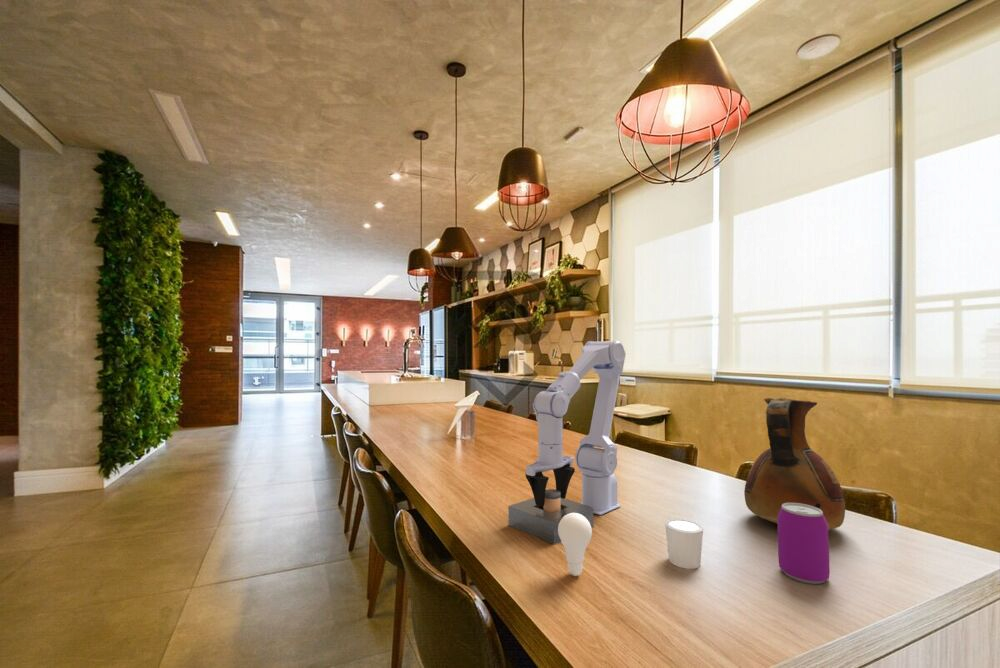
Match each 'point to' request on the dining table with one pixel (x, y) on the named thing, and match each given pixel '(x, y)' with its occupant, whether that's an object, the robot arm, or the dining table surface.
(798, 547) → the beverage can
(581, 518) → the lightbulb
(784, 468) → the ceramic pitcher
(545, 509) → the pin
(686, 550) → the shot glass
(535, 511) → the block
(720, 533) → the dining table surface
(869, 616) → the dining table surface
